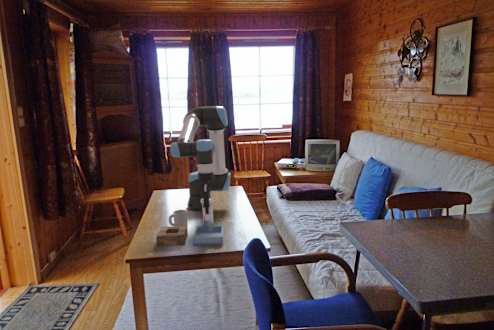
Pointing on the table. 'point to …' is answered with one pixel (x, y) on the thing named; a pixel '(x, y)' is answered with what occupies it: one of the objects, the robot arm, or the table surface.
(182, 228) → the socket block
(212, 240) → the tray
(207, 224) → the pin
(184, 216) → the cup
